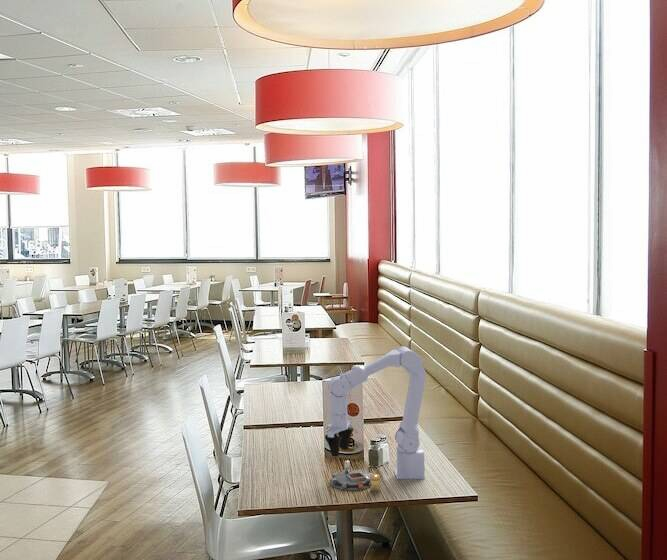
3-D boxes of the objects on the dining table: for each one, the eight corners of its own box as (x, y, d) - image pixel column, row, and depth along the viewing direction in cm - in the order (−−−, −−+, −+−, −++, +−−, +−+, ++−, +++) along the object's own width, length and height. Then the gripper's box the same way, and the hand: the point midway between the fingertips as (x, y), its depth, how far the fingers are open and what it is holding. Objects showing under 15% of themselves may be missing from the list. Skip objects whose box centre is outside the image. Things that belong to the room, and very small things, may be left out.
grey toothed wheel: (372, 472, 250) (372, 457, 250) (375, 487, 236) (374, 471, 236) (331, 473, 250) (331, 458, 250) (331, 488, 236) (331, 472, 236)
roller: (379, 488, 237) (379, 473, 237) (380, 492, 234) (380, 477, 233) (369, 488, 237) (369, 474, 237) (370, 492, 234) (370, 477, 233)
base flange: (373, 474, 251) (373, 472, 251) (376, 490, 236) (376, 488, 236) (330, 475, 251) (330, 473, 251) (330, 491, 236) (330, 489, 236)
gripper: (336, 406, 252) (337, 445, 253) (318, 417, 239) (319, 457, 240) (355, 408, 249) (356, 447, 250) (338, 419, 236) (339, 460, 237)
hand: (339, 452), depth 245 cm, fingers open, 7 cm apart
